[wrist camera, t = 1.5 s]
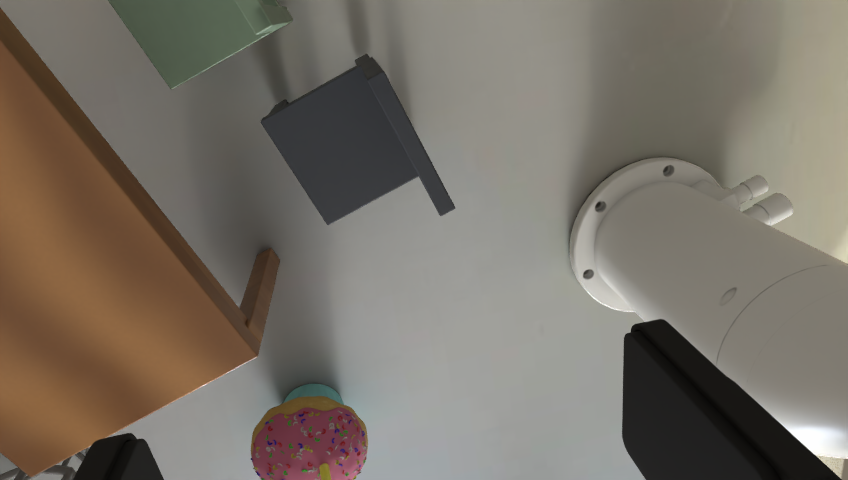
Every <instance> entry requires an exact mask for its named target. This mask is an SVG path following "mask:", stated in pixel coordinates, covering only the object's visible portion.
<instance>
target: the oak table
mask: <svg viewBox="0 0 848 480" xmlns="http://www.w3.org/2000/svg"><path fill="white" fill-rule="evenodd" d="M279 263H280V259H279V258H278V257H277V255H276V254H275V252H274V251H273V250H272V248H269V249H268V250H266V251H264V252H262V253H260V254H258V255H257V257H256V260H255V263H254V266H253V269H252V272H251V275H250V278H249V281H248V284H247V287H246V290H245V294H244V297H243V300H242V303H241V306H240V309H239V307H238V306H237V305H236V304H235V302H234V301H233V300H232V299H231V297H230V296H229V295H228V294H227V292H226V291H225V290H224V289H223V287H222V286H221V285H220V284H219V282H218V281H217V280H216V279H215V277H214V276H213V275H212V273H211V272H210V271H209V270H208V268H207V267H206V266H205V265H204V263H203V262H202V261H201V260H200V258H199V257H198V256H197V255H196V253H195V252H194V251H193V250H192V248H191V247H190V246H189V245H188V243H187V242H186V241H185V239H184V238H183V237H182V236H181V234H180V233H179V232H178V231H177V229H176V228H175V227H174V226H173V224H172V223H171V222H170V221H169V219H168V218H167V217H166V216H165V214H164V213H163V212H162V211H161V209H160V208H159V207H158V205H157V204H156V203H155V202H154V200H153V199H152V198H151V197H150V195H149V194H148V193H147V192H146V190H145V189H144V188H143V187H142V185H141V184H140V183H139V182H138V180H137V179H136V178H135V177H134V175H133V174H132V173H131V171H130V170H129V169H128V168H127V166H126V165H125V164H124V163H123V161H122V160H121V159H120V158H119V156H118V155H117V154H116V153H115V151H114V150H113V149H112V148H111V146H110V145H109V144H108V142H107V141H106V140H105V139H104V137H103V136H102V135H101V134H100V132H99V131H98V130H97V129H96V127H95V126H94V125H93V124H92V122H91V121H90V120H89V119H88V117H87V116H86V115H85V114H84V112H83V111H82V110H81V108H80V107H79V106H78V105H77V103H76V102H75V101H74V100H73V98H72V97H71V96H70V95H69V93H68V92H67V91H66V90H65V88H64V87H63V86H62V85H61V83H60V82H59V81H58V80H57V78H56V77H55V76H54V74H53V73H52V72H51V71H50V69H49V68H48V67H47V66H46V64H45V63H44V62H43V61H42V59H41V58H40V57H39V56H38V54H37V53H36V52H35V51H34V49H33V48H32V47H31V46H30V44H29V43H28V42H27V40H26V39H25V38H24V37H23V35H22V34H21V33H20V32H19V30H18V29H17V28H16V27H15V25H14V24H13V23H12V22H11V20H10V19H9V18H8V17H7V15H6V14H5V13H4V12H3V10H2V9H1V8H0V452H1V453H2V454H3V455H4V456H5V457H7V458H8V459H9V460H10V461H11V462H13V463H14V464H15V465H16V466H17V467H19V468H20V469H21V470H22V471H24V472H25V473H26V474H27V475H28V476H30V477H33V476H35V475H37V474H39V473H41V472H42V471H44V470H46V469H48V468H50V467H52V466H54V465H56V464H57V463H59V462H61V461H63V460H65V459H67V458H69V457H71V456H72V455H74V454H76V453H78V452H80V451H82V450H84V449H86V448H88V447H89V446H91V445H92V444H93V443H94V442H95V441H97V440H99V439H103V438H106V437H108V436H110V435H112V434H114V433H116V432H118V431H119V430H121V429H123V428H125V427H127V426H129V425H131V424H133V423H134V422H136V421H138V420H140V419H142V418H144V417H146V416H148V415H149V414H151V413H153V412H155V411H157V410H159V409H161V408H163V407H165V406H166V405H168V404H170V403H172V402H174V401H176V400H178V399H180V398H181V397H183V396H185V395H187V394H189V393H191V392H193V391H195V390H196V389H198V388H200V387H202V386H204V385H206V384H208V383H210V382H211V381H213V380H215V379H217V378H219V377H221V376H223V375H225V374H226V373H228V372H230V371H232V370H234V369H236V368H238V367H240V366H242V365H243V364H245V363H247V362H249V361H251V360H253V359H255V358H257V357H258V354H259V350H260V346H261V341H262V337H263V332H264V328H265V324H266V319H267V315H268V311H269V306H270V302H271V298H272V293H273V289H274V285H275V280H276V276H277V272H278V267H279Z"/></svg>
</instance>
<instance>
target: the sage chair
mask: <svg viewBox="0 0 848 480" xmlns="http://www.w3.org/2000/svg"><path fill="white" fill-rule="evenodd" d="M108 1H109V2H110V4H111V5H112V7H113V8H114V9H115V11H116V12H117V14H118V15H119V17H120V18H121V19H122V21H123V22H124V24H125V25H126V26H127V28H128V29H129V31H130V32H131V34H132V35H133V36H134V38H135V39H136V41H137V42H138V43H139V45H140V46H141V48H142V49H143V51H144V52H145V53H146V55H147V56H148V58H149V59H150V60H151V62H152V63H153V65H154V66H155V68H156V69H157V70H158V72H159V73H160V75H161V76H162V77H163V79H164V80H165V82H166V83H167V84H168V86H169V87H170V89H173V88H176V87H178V86H179V85H181V84H183V83H185V82H186V81H188V80H190V79H192V78H193V77H195V76H197V75H199V74H201V73H203V72H204V71H206V70H208V69H209V68H211V67H213V66H214V65H216V64H218V63H220V62H221V61H223V60H225V59H227V58H228V57H230V56H232V55H234V54H235V53H237V52H239V51H241V50H243V49H244V48H246V47H248V46H250V45H251V44H253V43H255V42H257V41H258V40H260V39H262V38H264V37H265V36H267V35H269V34H271V33H272V32H274V31H276V30H278V29H279V28H281V27H283V26H285V25H287V24H289V23H290V22H292V21H293V19H292V17H291V15H290V13H289V12H288V10H287V8H286V7H283V6H280V5H279V3H278V2H277V0H108Z"/></svg>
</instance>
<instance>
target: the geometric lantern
mask: <svg viewBox="0 0 848 480" xmlns="http://www.w3.org/2000/svg"><path fill="white" fill-rule="evenodd" d="M75 455H76V456H77V457H78V458H79V459H80V460H81V461H83V460H84V458H85V456H84V455H83V454H82V453H81V452H78V453H76V454H75ZM71 457H72V456H71ZM71 457H69V458H67V459H65V460H64V461H63V463H62V465H54V466H52V467H50V468H48V469H46V470H44V471H42V472H41V473H39V474H37V475H35V476H33V477H30V476H26V475H27V474H26V473H25V472H24V471H22V470H21V469H20V468H19V467H18V468H15V469H13V470H10V471H8V472H6V473H3V474H1V475H0V480H9V479H11V478H14V477H15V479H14V480H31V479H33V478H35V477H37V476H38V475H40V474H59V475H64V476H63V478H62V479H61V480H73V478H74V476H75V474H76V472H75V470H74V469H73V468H72V467H67V465H68V463H69V461H70V459H71Z"/></svg>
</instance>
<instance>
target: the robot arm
mask: <svg viewBox="0 0 848 480" xmlns="http://www.w3.org/2000/svg"><path fill="white" fill-rule="evenodd" d="M767 191H768V184H767V182H766V180H765V179H764V178H763V177H761V176H760V175H756V176H754V177H752V178H750V179H748V180H746V181H744V182H742V183H741V184H740V185H739V186H737V187H735V188H733V189H729V188H725V189H723V188H721V186H720V185H719V184H718V183H717V181H716V180H715V179H714V178H713V176H712V175H710V174H709V173H708V172H706V171H705V170H704V169H702V168H701V167H698V166H696V165H694V164H692V163H690V162H687V161H683V160H680V159H676V158H665V157H658V158H651V159H644V160H641V161H638V162H635V163H632V164H629V165H628V166H626V167H624V168H622V169H620V170H618V171H616V172H615V173H613V174H612V175H611V176H609V177H608V178H607V179H605V180H604V181H603V182H602V183H601V184H600V185H599V186H598V187H597V188H596V189H595V190H594V191H593V192H592V193H591V194H590V195H589V197H588V198H587V200H586V201H585V203H584V204H583V206H582V207H581V209H580V211H579V213H578V215H577V218H576V220H575V222H574V225H573V229H572V233H571V237H570V251H569V252H570V259H571V265H572V268H573V271H574V273H575V276H576V278H577V279H578V281H579V282H580V284H581V285H582V287H583V288H584V289H585V290H586V291H587V292H588V293H589V295H590V296H591V297H593V298H594V299H595V300H597V301H598V302H599V303H601V304H603V305H605V306H607V307H610V308H612V309H615V310H620V311H625V312H636V313H637V314H638V315H639V316H640V317H641V318H642V319H643V320H644V321H645V322H643V323H638V324H635V325H633V326H632V328H631V333H627V334H626V335H625V337H624V366H623V421H622V437H623V442H624V445H625V448H626V450H627V452H628V454H629V455H630V457H631V458H632V460H633V461H634V463H635V464H636V466H637V467H638V469H639V470H640V472H641V473H642V475H643V476H644V477H645V479H646V480H842V479H840V478H839V477H838V476H837V475H836V474H835V473H834V472H833V471H832V470H831V469H830V468H828V467H827V466H826V465H825V464H824V463H823V462H822V461H821V460H820V459H819V458H818V457H816V456H815V455H820V456H826V457H834V458H845V459H848V264H846V263H844V262H842V261H840V260H838V259H836V258H834V257H832V256H830V255H828V254H826V253H824V252H822V251H820V250H818V249H816V248H814V247H812V246H810V245H808V244H806V243H804V242H801V241H799V240H797V239H795V238H793V237H791V236H789V235H787V234H785V233H783V232H781V231H779V230H777V229H775V228H773V227H771V225H773V224H775V223H777V222H779V221H781V220H783V219H785V218H787V217H788V216H790V215H792V213H793V206H792V204H791V202H790V201H789V200H788V199H787V197H786V196H784V195H783V194H781V193H775V194H773V195H771V196H769V197H767V198H765V199H763V200H762V201H760V202H758V203H756V204H754V205H753V207H751V208H749V209H747V210H745V211H743V212H741V211H740V205H741V204H742V203H744V202H746V201H748V200H752V199H753V198H755V197H757V196H759V195H761V194H763V193H765V192H767ZM597 203H598V204H597ZM596 204H597V205H596ZM73 480H164V479H163V477H162V475H161V472H160V470H159V468H158V466H157V464H156V461H155V459H154V457H153V455H152V453H151V451H150V448H149V446H148V444H147V442H146V441H145V440H144V439H136V437H135V436H134V435H133V434H132V433H127V434H122V435H117V436H113V437H108V438H103V439H99V440H97V441H95V442H94V443H93V444H92V446H91V447H90V449H89V451H88V453H87V454H86V456H85V458H84V460H83V462H82V463H81V465H80V467H79V469H78V471H77V473H76V474H75V476H74V478H73Z"/></svg>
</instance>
